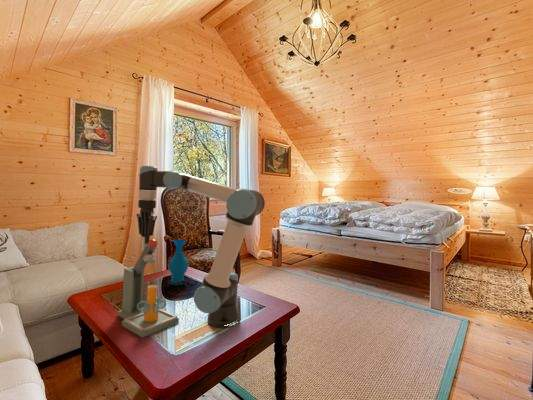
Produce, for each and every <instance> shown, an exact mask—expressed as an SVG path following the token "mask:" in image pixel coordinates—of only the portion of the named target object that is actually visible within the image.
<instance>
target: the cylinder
mask: <svg viewBox="0 0 533 400" xmlns="http://www.w3.org/2000/svg"><path fill="white" fill-rule="evenodd" d="M160 302H162V303H163V304H164V305H163V306H161V307H160V306H159V304H160ZM141 303H142V304H144V305H143V306H142V307H143V309H140V308H139V305H140V304H141ZM166 306H167V302H166V300H165V299H160V297H159V296H158V285H156V284H151V285H148V286H147V295H146V299H145V300H144V301H141V302H139V303H138V304H137V309H138V310H139V311H143V313H144V321H145V322H154V321H156V320H158V312H159V310H158V309H162V310H164V309H165V307H166Z"/></svg>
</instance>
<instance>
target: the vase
mask: <svg viewBox="0 0 533 400" xmlns="http://www.w3.org/2000/svg"><path fill="white" fill-rule="evenodd" d="M172 242H173V244H174V245H175V253H174V255H173V256H172V257H171V259H170V261H169V263H168V270H169V272H170V274H171V280H170V281H171V282H173V283H177V282H181V281H183V280H185V274H186V272H187V270H188V268H189V260H188V259H187V258H186V256H185V255H184V252H183V246H184V244H185V243H186V242H187V240H186V239H173V240H172ZM169 284H170V285H172V286H179V285H184V284H183V283H181V284H172V283H170V282H169Z"/></svg>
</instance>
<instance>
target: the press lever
mask: <svg viewBox="0 0 533 400" xmlns="http://www.w3.org/2000/svg"><path fill="white" fill-rule="evenodd" d="M157 246H158V241H157V240H156V239H154V238H153V239H149V242H148V244H147V245H146V247H145V249H144V251H141V254H140V256H139V258H137V260H136V262H135V265H134V266H133V267H134V268H133V270H132V271H134V278H136V277H139V276H140V274H141V273H142V271H143V269H144V270H145V267H146V266H147V265H150V264H152V263H154V262H155V261H156V260H157V256H156V255H155V253H154V252H155V250H156V249H157Z"/></svg>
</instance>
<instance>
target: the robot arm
mask: <svg viewBox="0 0 533 400" xmlns="http://www.w3.org/2000/svg"><path fill="white" fill-rule="evenodd" d="M138 176H139V178H138V179H139V181H138V183H139V186H138V187H139V188H138V199H139V200H138V205H137V207H138V208H139V209H140V211H139V213H136V217H137V226H138V235H141V252H143V251H144V249H145V247H146V245H147V244H148V242H149V241H150V237H151V236H154V230H155V225H156V221H157V219H158V215H155V212H154V209H156V207H157V188H163V189H180V190H184V191H187V192H191V193H195V194H198V195H201V196H203V197H207V198H210V199H212V200H217V201H220V202H222V203H225V204H226V205H225V207H226V210H227V211H226V213H225V217H226V220H227V223H226V224H225V228H224V231H223V234H222V236H221V240H220V242H219V245H218V248H217V251H216V254H215V257H214V260H213V262H212V265H211V268H210V270H209V272H208V273H206V274H205V275H204V276H203V279H202V282H201V285H200V286H199V287H198V288H197V289H195V291H194V292H193V293H194V294H193V301H194V304H195V307H196V308H197V309H198V310H199V311H200V312H202V313H203V314H207V323H208V324H209V325H210V326H212V327H215V328H222V329H223V328H225V329H226V328H229V327H228V326H229V325H228V326H224V325H227V324H230V323H232V322H234V321H236V320H237V319H238V318H239V316H240V312H239V310H238V309H239V308H238V304H237V303H238V286H239V285H238V284H239V283H238V282H239V276H238V274H237V273H236V272H232V271H233V268H234V266H235V263H236V260H237V257H238V255H239V251H240V250H241V247H242V244H243V240H244V238H245V236H246V232H247V229H248V228H250V227H252V226H253V223H254V221H255V218H256V216H259V215H260V214H261V213H262V212H263V210H264V209H265V205H266V201H265V198H264V196H263V195H262V194H261V192H259V191H257V190H254V189H252V190H251V189H248V188H247V189H246V188H239V189H237V188H233V187H230V186H227V185H224V184H220V183H216V182H213V181H210V180H206V179H204V178H200V177H196V176H192V175H191V174H188V173H181V172H179V171H174V170H158V167H157V166H153V165H141V166H140V168H139V175H138ZM239 319H240V318H239Z"/></svg>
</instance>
